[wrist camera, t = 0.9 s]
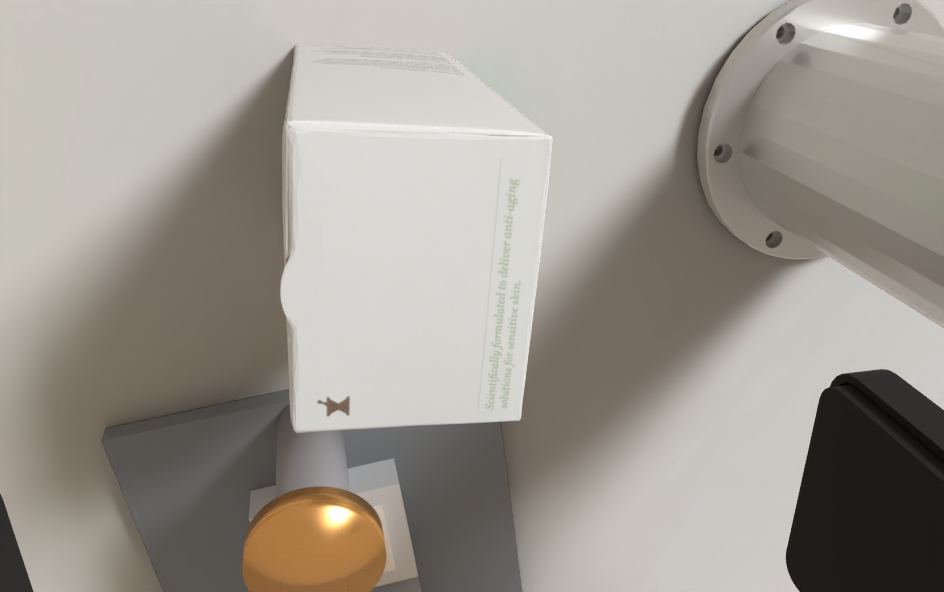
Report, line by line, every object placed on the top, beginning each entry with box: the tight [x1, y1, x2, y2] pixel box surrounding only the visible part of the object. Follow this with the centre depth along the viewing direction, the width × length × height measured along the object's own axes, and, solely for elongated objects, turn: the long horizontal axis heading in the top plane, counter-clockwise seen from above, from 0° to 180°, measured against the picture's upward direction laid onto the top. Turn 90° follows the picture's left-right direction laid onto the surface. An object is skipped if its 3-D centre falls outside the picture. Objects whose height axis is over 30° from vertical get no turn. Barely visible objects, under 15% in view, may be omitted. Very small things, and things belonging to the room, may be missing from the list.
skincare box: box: [280, 44, 553, 433], centre depth 26 cm, size 8×7×16 cm
